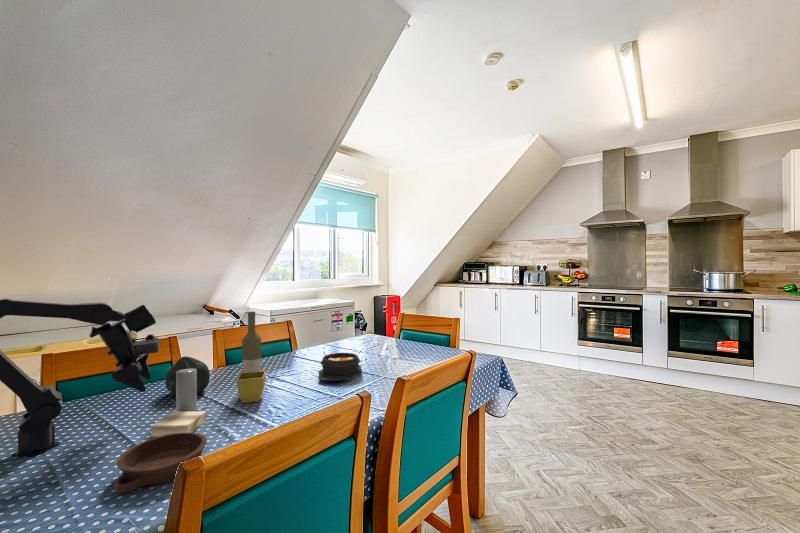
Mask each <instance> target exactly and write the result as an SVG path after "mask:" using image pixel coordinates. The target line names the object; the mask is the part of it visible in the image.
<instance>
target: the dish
mask: <svg viewBox="0 0 800 533" xmlns="http://www.w3.org/2000/svg"><path fill="white" fill-rule="evenodd" d="M207 443H208V440H207V437H206V436H205V435H204V434H201V433H196V432H192V433H174V434H167V435H163V436H159V437H152V438H150V439H149V438H148V439H147V440H146V439H145V440H143V441H142V442H139V443H138V444H136V445H133V446H132V447H130V448H128V449H126V450H125V451H124V452H123V453H122V454H121V455H119V457H118V459H117V460H116V466H117V467H116V468H118V469H119V470H121V473H122V474H121V475H120V476H119V477H118V478H117V479H116V480H115V483H114V491H115V493H117V494H124V493H128V492H132V491H134V490H137V489H139V488H141V487H147V486H148V487H149V486H155V485H160V484H164V483H166V482H170V481H173V480H174V478H175V474H176V471H177V468H178V466H179V464H180V463H181V462H184V461H187V460H190V459H192V458H195V457H198V456H202V453H203V451H204V448H205V447H206V445H207ZM175 479H176V478H175Z"/></svg>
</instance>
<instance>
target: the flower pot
mask: <svg viewBox="0 0 800 533" xmlns="http://www.w3.org/2000/svg"><path fill="white" fill-rule="evenodd" d="M265 383H266V370H261V371H258V372H246V373H243V372H240V373H239V375H238V377H237V378H236V387H237V393H238V396H239V399H240V400H241V402H242V403H244V404H248V403H255V402H256V403H257V402H260V400H261V398H262V396H263V392H264V389H265V385H266V384H265Z"/></svg>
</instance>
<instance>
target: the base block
mask: <svg viewBox="0 0 800 533" xmlns="http://www.w3.org/2000/svg"><path fill="white" fill-rule="evenodd" d="M206 422H207V410H206V411H205V410H201V411H200V410H199V411H198V410H197V411H176V410H173V412H172V411H171V413H169V414H168V415H166V416H165V417H163V418H162V419H160V420H158V421H157V422H156V423H154V424H152V425H151V429H150V430H151V437H152V438H155V437H159V436H163V435H167V434H174V433H195V431H196V430H198V429H199V428H200V427H201V426H202V425H204V424H205V423H206Z"/></svg>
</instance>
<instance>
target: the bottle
mask: <svg viewBox="0 0 800 533" xmlns="http://www.w3.org/2000/svg"><path fill="white" fill-rule="evenodd" d="M241 357H242V358H241V360H242V362H241V364H242V366H241V367H242V373H246V372H258V371H262V337H261V335H259V334H258V333H257V332H256V312H255V311H248V312H247V332H246V334H245V335H244V336H243V337H242V340H241Z"/></svg>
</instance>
